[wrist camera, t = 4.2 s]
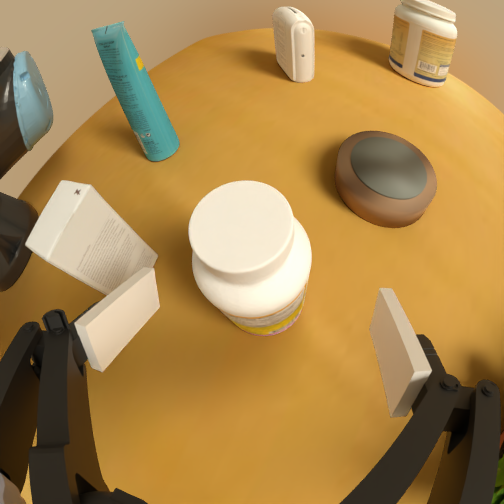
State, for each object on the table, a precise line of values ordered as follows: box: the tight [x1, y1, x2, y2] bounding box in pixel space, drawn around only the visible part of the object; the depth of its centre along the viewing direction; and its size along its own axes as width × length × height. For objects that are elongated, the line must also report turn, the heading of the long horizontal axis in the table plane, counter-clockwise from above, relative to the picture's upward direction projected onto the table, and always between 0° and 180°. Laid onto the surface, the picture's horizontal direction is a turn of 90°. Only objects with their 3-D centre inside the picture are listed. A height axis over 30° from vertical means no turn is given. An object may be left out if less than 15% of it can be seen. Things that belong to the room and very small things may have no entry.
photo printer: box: [272, 7, 314, 82], centre depth 33 cm, size 10×4×12 cm, turn 13°
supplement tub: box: [389, 0, 457, 87], centre depth 30 cm, size 12×12×17 cm
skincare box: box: [25, 180, 158, 295], centre depth 21 cm, size 6×4×12 cm
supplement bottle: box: [188, 181, 312, 336], centre depth 18 cm, size 7×7×13 cm
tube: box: [92, 21, 179, 161], centre depth 25 cm, size 7×5×19 cm, turn 59°
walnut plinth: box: [335, 131, 437, 228], centre depth 25 cm, size 11×11×3 cm
